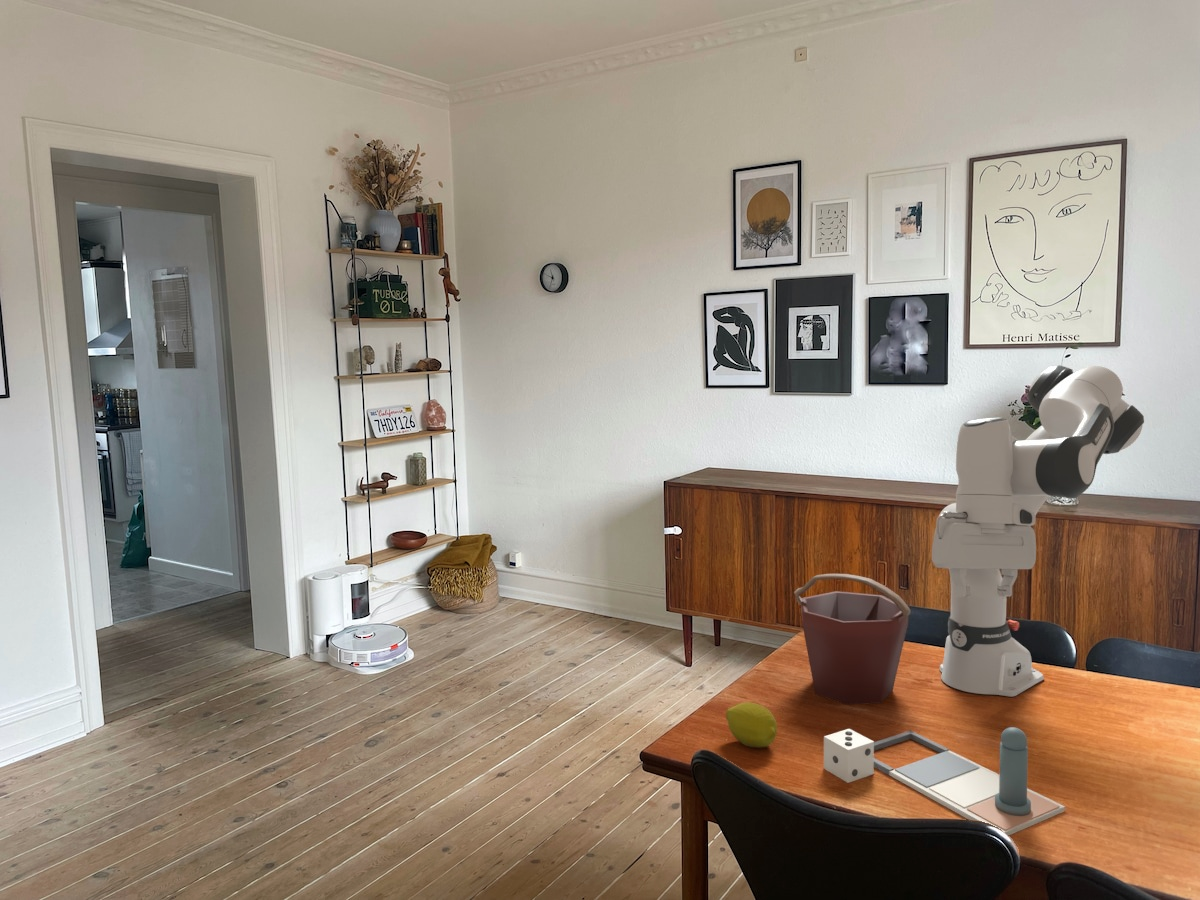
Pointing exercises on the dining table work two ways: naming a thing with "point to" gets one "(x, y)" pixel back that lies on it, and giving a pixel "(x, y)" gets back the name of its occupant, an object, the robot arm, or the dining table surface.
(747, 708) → the lemon
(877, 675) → the bucket
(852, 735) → the die
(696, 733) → the dining table surface
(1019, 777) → the pawn
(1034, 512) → the robot arm
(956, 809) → the game board
